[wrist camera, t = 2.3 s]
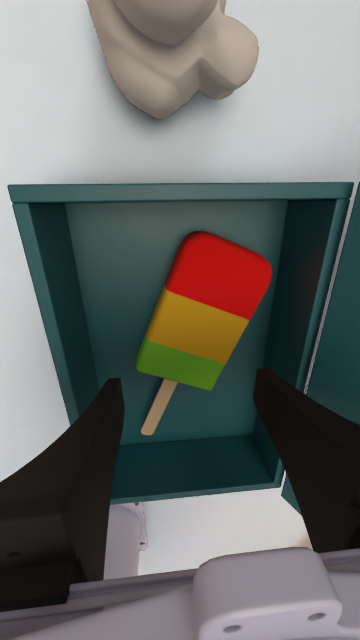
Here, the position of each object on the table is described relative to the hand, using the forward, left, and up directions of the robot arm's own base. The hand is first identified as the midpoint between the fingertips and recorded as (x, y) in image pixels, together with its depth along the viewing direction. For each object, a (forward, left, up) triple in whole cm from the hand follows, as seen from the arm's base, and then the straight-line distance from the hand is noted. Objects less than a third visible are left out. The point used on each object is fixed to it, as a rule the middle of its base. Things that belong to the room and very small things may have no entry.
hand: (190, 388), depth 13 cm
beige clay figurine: (+15, 0, -5) cm, 16 cm away
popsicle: (0, 0, -5) cm, 5 cm away
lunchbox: (0, 0, -5) cm, 5 cm away
